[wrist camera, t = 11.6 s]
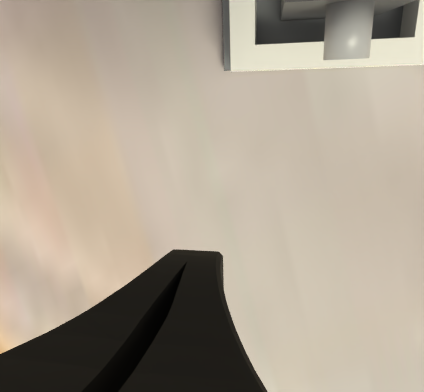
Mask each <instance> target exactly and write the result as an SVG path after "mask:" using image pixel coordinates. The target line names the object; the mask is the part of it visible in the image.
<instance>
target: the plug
mask: <svg viewBox="0 0 424 392" xmlns="http://www.w3.org/2000/svg"><path fill="white" fill-rule="evenodd" d="M413 1H415V0H281V21H293V20H309V19H325V35H324V53H323V60H342V59H363V58H369V57H370V47H371V37H372V27H373V17H374V15H380V14H382V13H385V12H387V11H390V10H392V9H395V8H397V7H400V6H402V5H405V4H408V3H410V2H413Z"/></svg>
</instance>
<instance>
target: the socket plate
mask: <svg viewBox="0 0 424 392" xmlns="http://www.w3.org/2000/svg"><path fill="white" fill-rule="evenodd" d="M222 9H223V47H224V71H231V72H241V71H268V70H296V69H323V68H350V67H378V66H405V65H424V0H415V1H413V2H410V3H408V4H405V5H402V6H400V7H397V8H395V9H392V10H390V11H387V12H385V13H382V14H380V15H374V17H373V27H372V37H371V47H370V57H369V58H363V59H342V60H323V53H324V35H325V19H309V20H293V21H281V0H222Z"/></svg>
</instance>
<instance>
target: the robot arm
mask: <svg viewBox="0 0 424 392" xmlns="http://www.w3.org/2000/svg"><path fill="white" fill-rule="evenodd" d="M0 392H267V390H266V388H265V387H264V385H263V383H262V382H261V380H260V378H259V376H258V375H257V373H256V371H255V370H254V368H253V366H252V364H251V362H250V360H249V358H248V356H247V354H246V352H245V350H244V347H243V345H242V343H241V341H240V338H239V336H238V334H237V331H236V329H235V326H234V323H233V321H232V318H231V315H230V312H229V309H228V306H227V302H226V298H225V294H224V287H223V256H222V255H221V254H220V253H219V252H214V251H194V250H172V251H171V252H169V253H168V254H167V255H165V256H164V257H163V258H161V259H160V260H159V261H157V262H156V263H155V264H153V265H152V266H151V267H149V268H148V269H147V270H145V271H144V272H143V273H141V274H140V275H139V276H137V277H136V278H135V279H133V280H132V281H131V282H129V283H128V284H127V285H125V286H124V287H122V288H121V289H119V290H118V291H116V292H115V293H113V294H112V295H110V296H109V297H107V298H106V299H104V300H103V301H101V302H100V303H98V304H97V305H95V306H94V307H92V308H90V309H89V310H87V311H85V312H84V313H82V314H80V315H79V316H77V317H75V318H73V319H71V320H70V321H68V322H66V323H64V324H62V325H60V326H59V327H57V328H55V329H53V330H51V331H49V332H47V333H45V334H43V335H41V336H39V337H36V338H34V339H32V340H30V341H28V342H26V343H23V344H21V345H19V346H17V347H15V348H13V349H10V350H8V351H6V352H4V353H2V354H0Z"/></svg>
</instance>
